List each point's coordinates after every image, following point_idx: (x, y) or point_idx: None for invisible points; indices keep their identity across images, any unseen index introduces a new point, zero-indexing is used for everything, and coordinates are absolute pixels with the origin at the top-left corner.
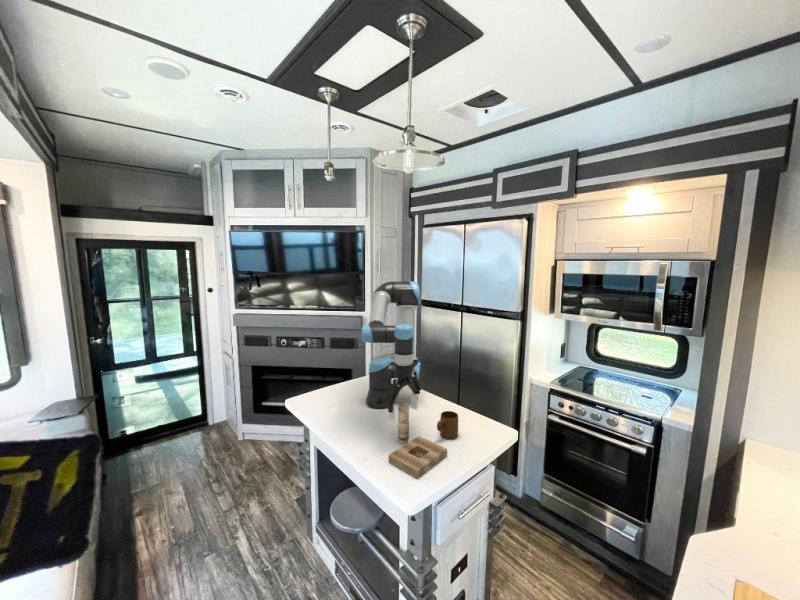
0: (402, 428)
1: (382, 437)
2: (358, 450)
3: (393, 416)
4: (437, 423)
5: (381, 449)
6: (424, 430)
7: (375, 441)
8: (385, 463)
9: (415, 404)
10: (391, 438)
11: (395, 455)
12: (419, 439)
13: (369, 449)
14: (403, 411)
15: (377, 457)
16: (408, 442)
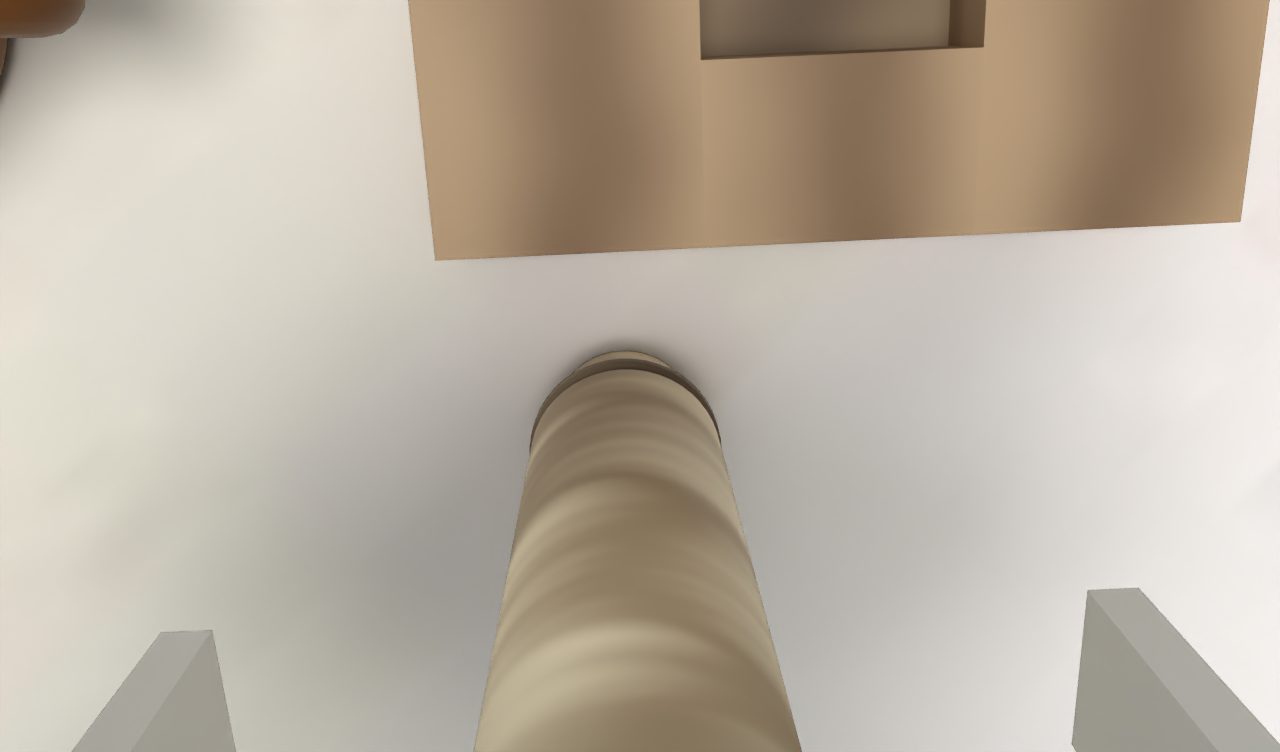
0: (725, 481)
1: None
2: None
3: (1193, 670)
4: (5, 18)
5: (989, 500)
6: (110, 417)
7: (894, 692)
8: None
9: (155, 742)
10: None
11: (1187, 126)
12: (518, 169)
13: None
14: (763, 685)
15: (1173, 399)
16: (735, 244)
